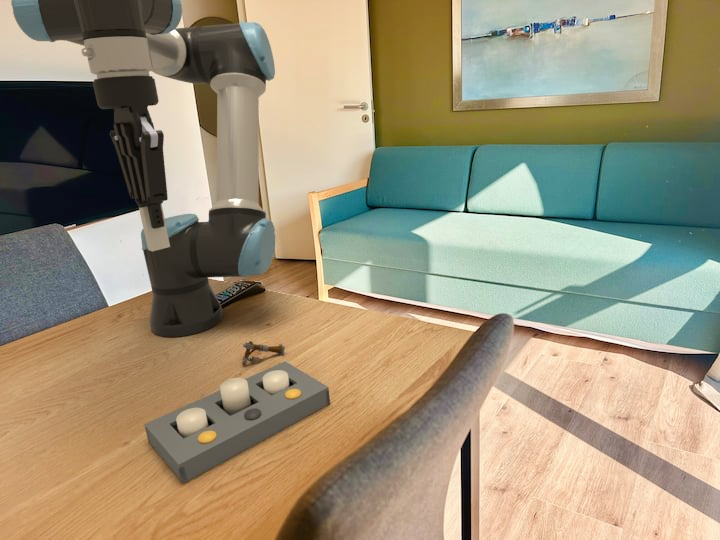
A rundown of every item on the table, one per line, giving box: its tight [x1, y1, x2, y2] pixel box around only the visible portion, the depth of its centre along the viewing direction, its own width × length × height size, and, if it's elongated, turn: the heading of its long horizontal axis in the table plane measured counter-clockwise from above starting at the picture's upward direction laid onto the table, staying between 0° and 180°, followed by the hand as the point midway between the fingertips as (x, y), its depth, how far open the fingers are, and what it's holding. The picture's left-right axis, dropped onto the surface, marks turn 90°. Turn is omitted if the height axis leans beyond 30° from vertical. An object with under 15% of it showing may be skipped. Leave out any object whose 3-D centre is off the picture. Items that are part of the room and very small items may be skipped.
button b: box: [219, 377, 252, 416], centre depth 77 cm, size 4×4×4 cm
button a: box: [176, 408, 209, 439], centre depth 73 cm, size 4×4×4 cm
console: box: [144, 361, 331, 485], centre depth 77 cm, size 12×24×3 cm, turn 131°
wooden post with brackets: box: [241, 340, 286, 366], centre depth 95 cm, size 2×8×4 cm, turn 123°
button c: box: [263, 370, 291, 396], centre depth 82 cm, size 4×4×4 cm
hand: (159, 248), depth 75 cm, fingers closed
